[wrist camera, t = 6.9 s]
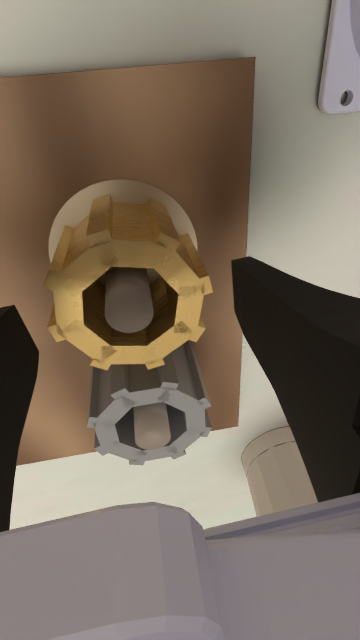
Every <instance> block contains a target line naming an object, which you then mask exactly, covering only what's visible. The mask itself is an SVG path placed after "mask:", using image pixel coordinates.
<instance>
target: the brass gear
mask: <svg viewBox="0 0 360 640" xmlns="http://www.w3.org/2000/svg"><path fill="white" fill-rule="evenodd" d="M111 267H131V268H154V269H155V270H156V271H157V272H158V273H159V275H160V276H161V277H160V278H158V279H157V280H156V281H155V282H153V283H152V284H151V285H149V287H150V293H151V298H152V304H153V311H154V313H153V318H152V320H151V322H150V323H149V325H148V326H147V327H145V328H144V329H142V330H140V331H137V332H133V333H124V332H120V331H117V330H115V329H114V328H112V327H111V326H110V325H109V324H108V322H107V321H106V318H105V294H106V286H105V285H104V284H103V283H101V282H100V281H99V280H98V278H99V277H100V276H101V275H103V274H104V273H105V272H106V271H107V270H108V269H110V268H111ZM43 288H46V289H49V290H52V291H53V295H54V304H53V308H52V311H51V315H50V319H49V322H48V326H47V328H48V330H49V331H50V333H51V334H52V336H53V337H54V339H55V340H56V342H59V341H63V340H67V341H69V342H70V343H71V344H73V345H74V346H76V347H77V348H78V349H80V350H81V351H83V352H84V353H85V354H87V355H88V356H90V357H91V359H90V366H94V367H97V368H101V369H104V370H108V368H109V367H110V365H111V364H145V365H146V367H147V369H148V370H149V369H152V368H155V367H159V366H162V365H165V363H164V357H165V356H167V355H168V354H169V353H171V352H172V351H174V350H175V349H176V348H178V347H179V346H181V345H182V344H183V343H185V342H186V341H188V340H191V341H194V342H197V341H198V339H199V338H200V336H201V335H202V333H203V332H204V331H205V329H206V328H205V325H204V323H203V320H202V317H201V315H200V313H201V308H202V303H203V297H204V295H206V294H209V293H212V292H213V290H212V286H211V282H210V278H209V275H208V273H207V271H206V268H205V266H204V264H203V262H202V260H201V258H200V256H199V254H198V252H197V250H196V248H195V246H194V244H193V242H192V240H191V238H190V236H189V234H188V233H186V234H183V235H180V234H179V233H178V231H177V230H176V229H175V227H174V225H173V222H172V220H171V218H170V215H169V213H168V210H167V208H166V205H165V204H163V203H161V202H159V201H157V200H155V199H153V198H151V197H150V198H149V200H148V202H147V204H134V203H122V202H113V200H112V198H111V195H110V193H109V194H106V195H103V196H100V197H97V198H94V199H93V201H92V206H91V211H90V214H89V215H87V216H86V217H85V218H84V219H83V220H82V221H81V222H80V223H79V224H78V225H77V226H75V227H74V228H71V227H69V226H66V225H65V226H64V229H63V231H62V234H61V236H60V239H59V242H58V245H57V247H56V250H55V253H54V256H53V259H52V261H51V264H50V267H49V270H48V273H47V275H46V278H45V281H44V284H43Z"/></svg>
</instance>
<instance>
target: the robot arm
mask: <svg viewBox="0 0 360 640" xmlns="http://www.w3.org/2000/svg"><path fill="white" fill-rule="evenodd" d="M345 91H346V92H347V94H348V98H347V100H346V102H345V103H344V104H343V105H342V104H341V103H340V98H341V96H342V94H343V93H344V92H345ZM318 106H319V109H320V110H321V111H322V112H323V113H327V114H338V113H348V112H358V111H360V0H332V5H331V12H330V19H329V26H328V34H327V41H326V48H325V55H324V62H323V69H322V76H321V84H320V91H319V98H318ZM231 268H232V283H233V298H234V311H235V314H236V317H237V319H238V322H239V325H240V327H241V330H242V332H243V334H244V336H245V338H246V340H247V342H248V344H249V345H250V347H251V349H252V351H253V353H254V354H255V356H256V358H257V360H258V361H259V363H260V365H261V367H262V368H263V370H264V372H265V374H266V376H267V377H268V379H269V381H270V383H271V385H272V387H273V389H274V391H275V393H276V395H277V397H278V400H279V402H280V405H281V407H282V409H283V412H284V414H285V416H286V419H287V421H288V424H289V426H290V429H291V431H292V434H293V436H294V439H295V441H296V444H297V446H298V449H299V452H300V454H301V457H302V460H303V462H304V465H305V468H306V470H307V473H308V476H309V478H310V481H311V484H312V487H313V489H314V492H315V495H316V498H317V501H318V503H314V504H310V505H306V506H301V507H297V508H293V509H289V510H284V511H280V512H276V513H271V514H267V515H263V516H259V517H254V518H250V519H246V520H242V521H237V522H233V523H229V524H224V525H220V526H216V527H212V528H207V529H203V528H202V526H201V525H200V524H199V523H198V522H197V521H196V520H195V519H194V518H193V517H192V515H191V514H190V513H189V512H187V511H185V510H184V509H182V508H179V507H174V506H170V505H165V504H161V503H156V502H148V503H137V504H126V505H117V506H112V507H108V508H104V509H99V510H95V511H91V512H86V513H82V514H78V515H73V516H69V517H64V518H60V519H56V520H51V521H47V522H43V523H38V524H34V525H30V526H25V527H21V528H16V529H12V530H9V526H10V513H11V504H12V495H13V486H14V477H15V470H16V463H17V457H18V450H19V445H20V441H21V436H22V432H23V429H24V425H25V421H26V418H27V414H28V410H29V406H30V403H31V399H32V395H33V391H34V387H35V384H36V379H37V373H38V363H39V350H38V348H37V346H36V345H35V343H34V341H33V339H32V337H31V335H30V333H29V331H28V329H27V327H26V326H25V324H24V322H23V320H22V318H21V316H20V314H19V312H18V310H17V308H16V307H15V305H11V306H6V307H1V308H0V640H360V298H356V297H352V296H348V295H345V294H341V293H338V292H334V291H331V290H328V289H325V288H322V287H319V286H316V285H313V284H311V283H308V282H306V281H303V280H300V279H298V278H296V277H293V276H291V275H289V274H287V273H284V272H282V271H280V270H278V269H276V268H274V267H272V266H269V265H267V264H265V263H263V262H261V261H259V260H257V259H254V258H252V257H244V258H239V259H234V260H231Z"/></svg>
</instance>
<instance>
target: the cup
mask: <svg viewBox="0 0 360 640" xmlns="http://www.w3.org/2000/svg"><path fill="white" fill-rule="evenodd" d="M242 464H243V467H244V470H245V473H246V476H247V480H248V483H249V487H250V491H251V495H252V499H253V503H254V507H255V511H256V515H257V517H259V516H263V515H267V514H271V513H276V512H280V511H284V510H289V509H293V508H297V507H301V506H306V505H310V504H314V503H318V501H317V498H316V495H315V492H314V489H313V487H312V484H311V481H310V478H309V476H308V473H307V470H306V468H305V465H304V462H303V460H302V457H301V454H300V452H299V449H298V446H297V444H296V441H295V439H294V436H293V434H292V431H291V429H290V427H282V428H278V429H274V430H271V431H269V432H266V433H264V434H262V435H261V436H259V437H257V438H256V439H254V440H253V441H252V442H251V443H250V444H249V445H248V446H247V447H246V448H245V450H244V452H243V454H242Z"/></svg>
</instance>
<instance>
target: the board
mask: <svg viewBox="0 0 360 640" xmlns="http://www.w3.org/2000/svg"><path fill="white" fill-rule="evenodd" d="M254 78H255V57H250V58H238V59H225V60H213V61H201V62H189V63H177V64H164V65H152V66H140V67H128V68H116V69H104V70H91V71H79V72H67V73H55V74H43V75H30V76H18V77H6V78H0V308H1V307H6V306H11V305H15V307H16V308H17V310H18V312H19V314H20V316H21V318H22V320H23V322H24V324H25V326H26V327H27V329H28V331H29V333H30V335H31V337H32V339H33V341H34V343H35V345H36V346H37V348H38V350H39V363H38V373H37V379H36V384H35V387H34V391H33V395H32V399H31V403H30V406H29V410H28V414H27V418H26V421H25V425H24V429H23V432H22V436H21V441H20V445H19V450H18V457H17V463H16V466H17V465H23V464H29V463H34V462H40V461H45V460H51V459H57V458H62V457H68V456H74V455H79V454H85V453H90V452H96V450H95V449H94V443H95V429H94V428H87V415H88V403H89V391H90V379H91V367H92V366H90V359H91V357H90V356H88V355H87V354H85V353H84V352H83V351H81V350H80V349H78V348H77V347H76V346H74V345H73V344H71V343H70V342H69V341H67V340H63V341H59V342H56V340H55V339H54V337H53V336H52V334H51V333H50V331H49V330H48V328H47V326H48V322H49V319H50V315H51V311H52V308H53V304H54V295H53V291H52V290H49V289H46V288H43V284H44V281H45V278H46V275H47V273H48V270H49V267H50V264H51V261H52V259H53V256H54V253H55V250H56V247H57V245H58V242H59V239H60V236H61V234H62V231H63V229H64V226H65V225H66V226H69V227H71V228H74V227H75V226H77V225H78V224H79V223H80V222H81V221H82V220H83V219H84V218H85V217H86V216H87V215H89V214H90V211H91V206H92V201H93V199H94V198H97V197H100V196H103V195H106V194H109V193H110V195H111V198H112V200H113V202H122V203H134V204H147V202H148V200H149V198H150V197H151V198H153V199H155V200H157V201H159V202H161V203H163V204H165V205H166V208H167V210H168V213H169V215H170V218H171V220H172V222H173V225H174V227H175V229H176V230H177V231H178V233H179V234H180V235H183V234H186V233H188V234H189V236H190V238H191V240H192V242H193V244H194V246H195V248H196V250H197V252H198V254H199V256H200V258H201V260H202V262H203V264H204V266H205V268H206V271H207V273H208V275H209V278H210V282H211V286H212V290H213V292H212V293H209V294H206V295H204V297H203V303H202V308H201V313H200V315H201V317H202V320H203V323H204V325H205V328H206V329H205V331H204V332H203V333H202V335H201V336H200V338H199V339H198V341H197V342H194V341H191V340H188V341H186V342H185V343H187V342H190V344H191V345H192V347H193V348H194V350H195V353H196V356H197V360H198V363H199V366H200V370H201V373H202V376H203V380H204V383H205V386H206V390H207V393H208V396H209V400H210V403H211V406H210V407H208V408H206V409H207V412H208V416H209V419H210V423H211V426H212V428H211V430H210V431H214V430H219V429H225V428H231V427H236V426H238V417H239V396H240V375H241V354H242V330H241V327H240V325H239V322H238V319H237V317H236V314H235V311H234V298H233V283H232V268H231V260H234V259H239V258H244V257H246V248H247V226H248V205H249V184H250V163H251V141H252V120H253V99H254ZM160 277H161V276H160V275H159V273H158V272H157V271H156V270H155V269H154V268H131V267H111V268H110V269H108V270H107V271H106V272H105V273H104V274H103V275H101V276H100V277H99V278H98V280H99V281H100V282H101V283H103V284H104V285H105V286H106V294H105V318H106V321H107V322H108V324H109V325H110V326H111V327H112V328H114V329H115V330H117V331H120V332H124V333H133V332H137V331H140V330H142V329H144V328H145V327H147V326H148V325H149V323H150V322H151V320H152V318H153V313H154V311H153V304H152V298H151V293H150V287H149V285H151V284H152V283H153V282H155V281H156V280H157V279H158V278H160ZM185 343H183V344H185ZM133 412H134V429H135V442H136V444H137V446H139V447H140V448H142V449H147V450H153V449H158V448H161V447H163V446H165V445H166V444H167V443H168V442H169V441H170V439H171V433H170V427H169V421H168V414H167V408H166V403H164V402H159V403H153V404H147V405H142V406H136V407H133Z"/></svg>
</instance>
